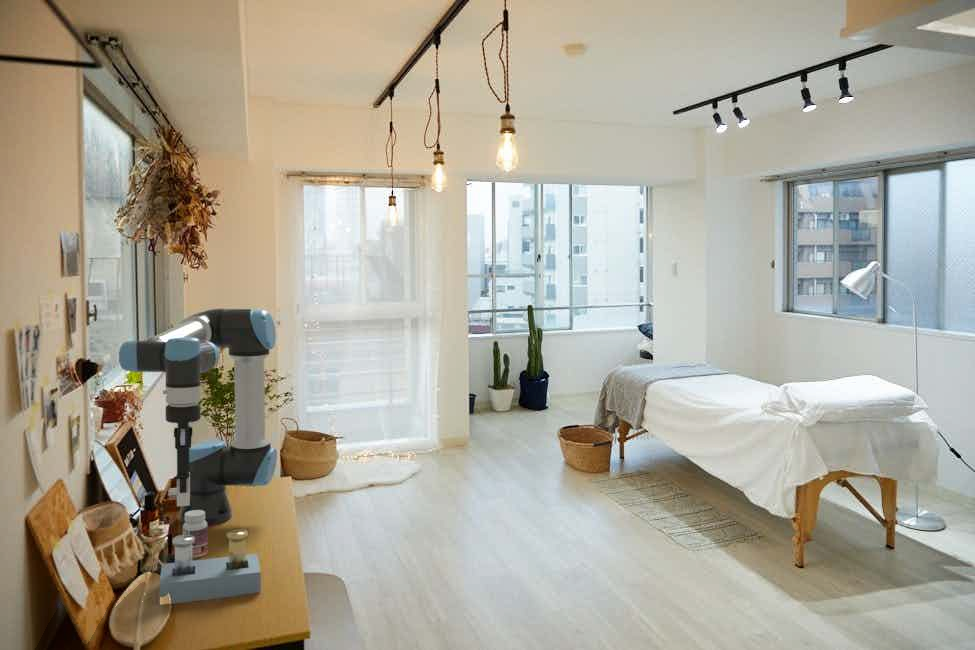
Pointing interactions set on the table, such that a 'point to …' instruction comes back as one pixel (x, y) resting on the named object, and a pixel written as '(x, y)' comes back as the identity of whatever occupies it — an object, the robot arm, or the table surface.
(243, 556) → the glass jar
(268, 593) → the table surface
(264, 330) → the robot arm
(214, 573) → the socket block
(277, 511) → the table surface
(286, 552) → the table surface
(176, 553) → the small lidded jar
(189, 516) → the pill bottle
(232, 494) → the table surface
